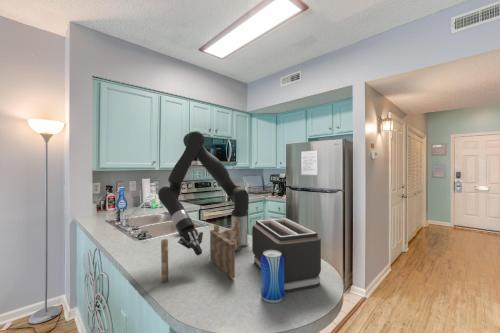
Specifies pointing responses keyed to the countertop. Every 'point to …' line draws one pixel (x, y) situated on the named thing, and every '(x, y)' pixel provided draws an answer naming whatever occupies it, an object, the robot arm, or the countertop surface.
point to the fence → (230, 233)
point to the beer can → (272, 276)
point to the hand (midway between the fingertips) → (200, 254)
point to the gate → (222, 253)
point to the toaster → (290, 251)
